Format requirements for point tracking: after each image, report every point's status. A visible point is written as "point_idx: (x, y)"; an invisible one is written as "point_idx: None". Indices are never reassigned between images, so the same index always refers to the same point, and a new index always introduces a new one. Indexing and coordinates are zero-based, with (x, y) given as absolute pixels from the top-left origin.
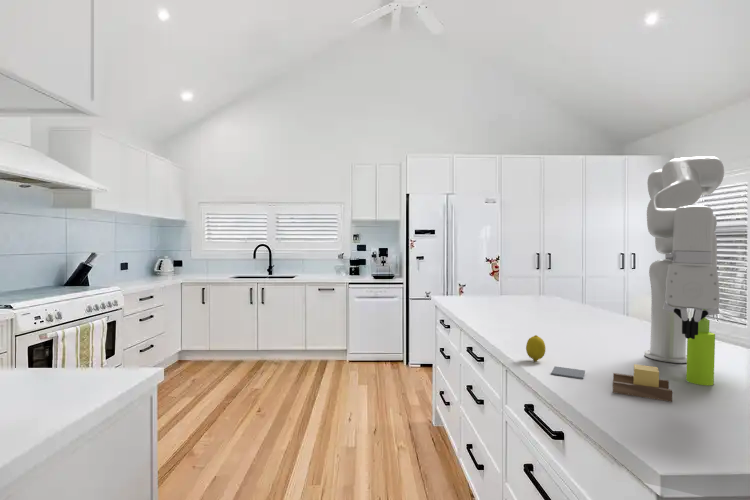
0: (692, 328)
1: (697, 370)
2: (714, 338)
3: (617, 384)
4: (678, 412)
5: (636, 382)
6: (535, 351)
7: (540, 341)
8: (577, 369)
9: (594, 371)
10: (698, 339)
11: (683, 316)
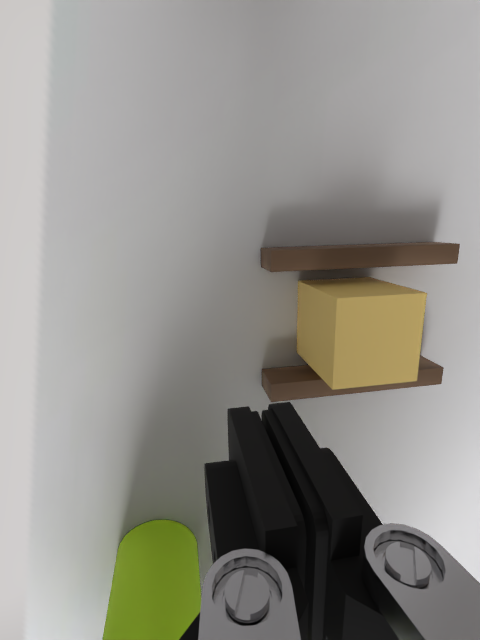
0: (270, 460)
1: (167, 562)
2: None
3: (441, 244)
4: (250, 122)
5: (384, 283)
6: None
7: None
8: None
9: (457, 463)
10: None
11: (444, 583)
